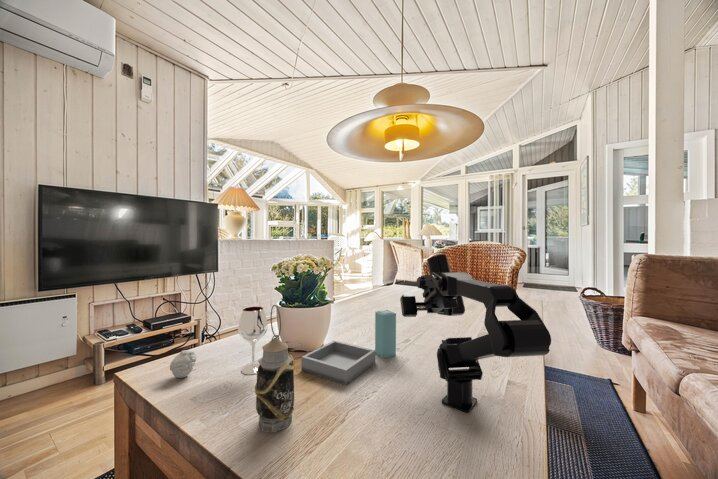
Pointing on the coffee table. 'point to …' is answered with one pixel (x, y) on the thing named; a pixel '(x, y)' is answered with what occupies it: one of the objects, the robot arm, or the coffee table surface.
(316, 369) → the grey crate
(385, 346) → the teal square pillar
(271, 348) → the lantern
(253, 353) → the wineglass
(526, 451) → the coffee table surface
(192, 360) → the grey rounded lump
